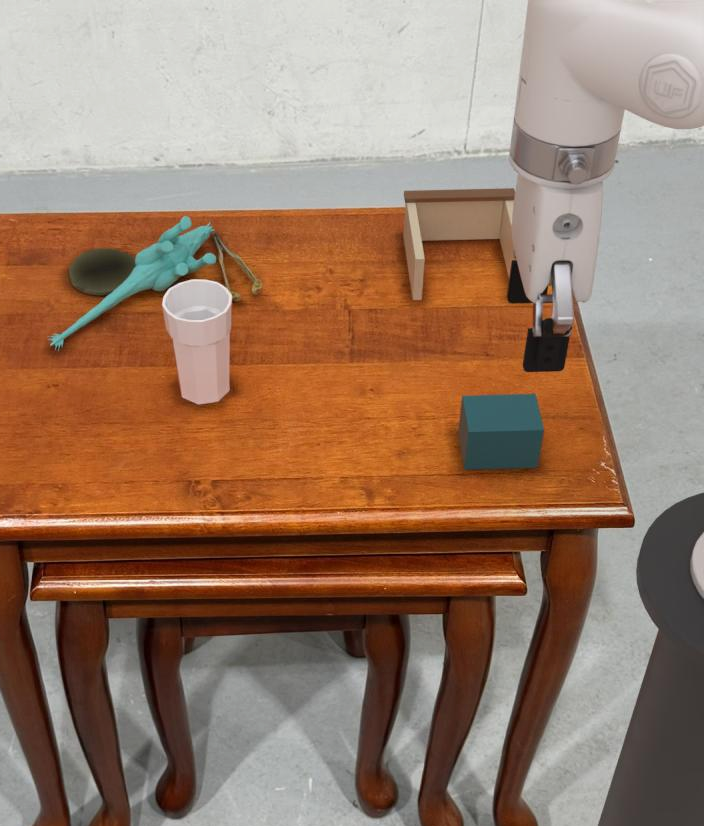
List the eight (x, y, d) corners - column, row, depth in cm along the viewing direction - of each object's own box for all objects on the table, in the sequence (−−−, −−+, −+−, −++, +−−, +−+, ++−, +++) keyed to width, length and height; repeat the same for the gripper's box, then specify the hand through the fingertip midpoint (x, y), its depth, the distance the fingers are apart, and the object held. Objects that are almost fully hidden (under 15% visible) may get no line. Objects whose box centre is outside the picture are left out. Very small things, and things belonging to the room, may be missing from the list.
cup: (229, 413, 127) (223, 325, 119) (164, 405, 128) (154, 317, 120) (243, 370, 132) (238, 283, 124) (180, 362, 132) (172, 276, 125)
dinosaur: (222, 188, 140) (190, 208, 146) (54, 309, 128) (26, 325, 134) (253, 234, 142) (219, 251, 148) (89, 358, 129) (60, 372, 136)
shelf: (524, 297, 140) (531, 251, 135) (410, 300, 140) (413, 254, 135) (508, 233, 148) (514, 187, 144) (401, 236, 148) (403, 190, 144)
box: (537, 468, 121) (544, 429, 118) (463, 470, 121) (468, 431, 118) (529, 431, 125) (535, 393, 121) (457, 433, 125) (462, 395, 121)
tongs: (222, 232, 148) (219, 219, 147) (267, 296, 140) (264, 282, 139) (189, 246, 148) (186, 232, 146) (232, 311, 139) (229, 297, 138)
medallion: (97, 239, 146) (98, 244, 147) (53, 277, 142) (54, 282, 142) (154, 261, 143) (154, 267, 144) (110, 301, 139) (111, 306, 140)
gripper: (642, 210, 86) (600, 405, 98) (593, 81, 98) (562, 269, 110) (530, 213, 85) (502, 407, 98) (495, 83, 98) (474, 271, 110)
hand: (534, 333), depth 104 cm, fingers open, 8 cm apart
